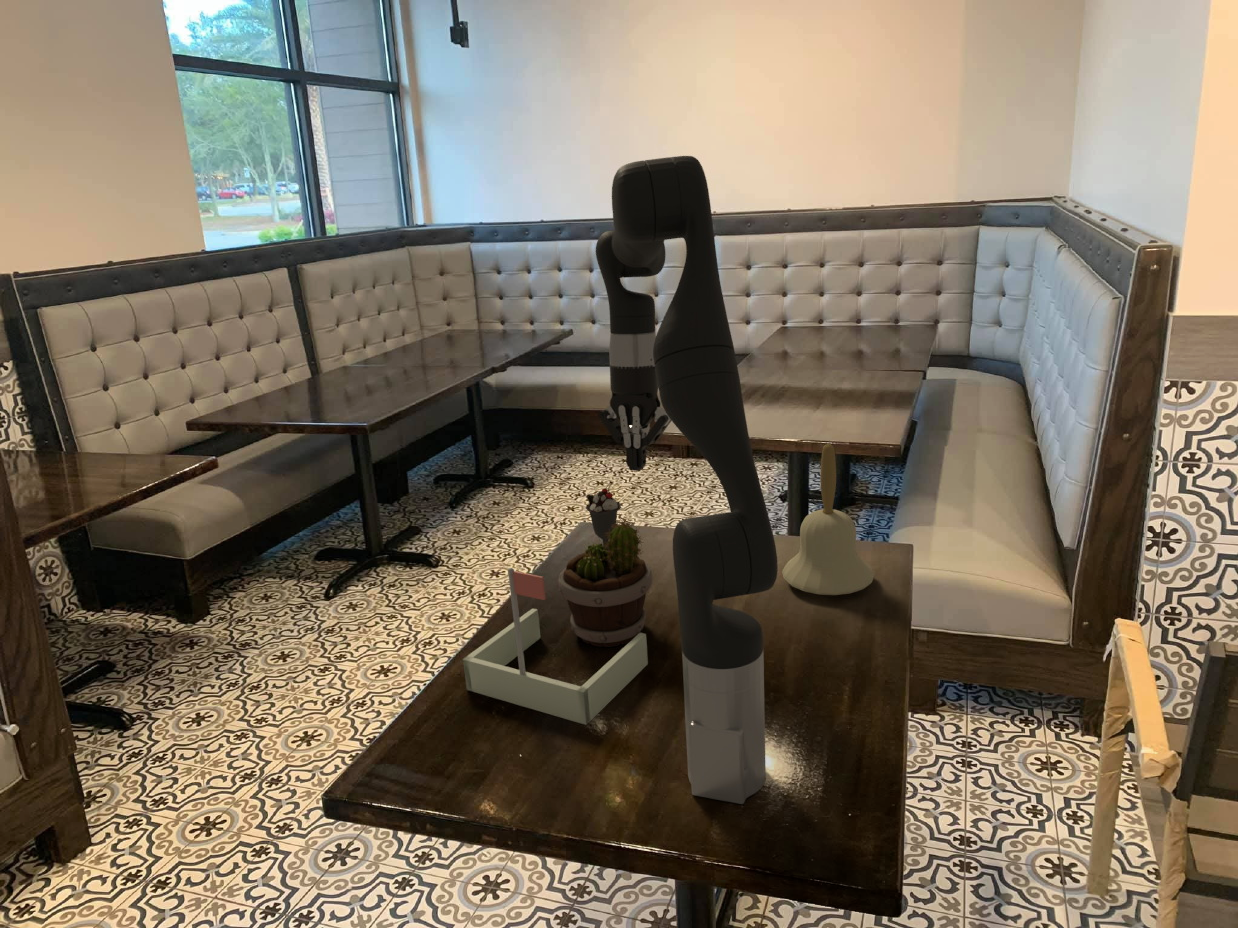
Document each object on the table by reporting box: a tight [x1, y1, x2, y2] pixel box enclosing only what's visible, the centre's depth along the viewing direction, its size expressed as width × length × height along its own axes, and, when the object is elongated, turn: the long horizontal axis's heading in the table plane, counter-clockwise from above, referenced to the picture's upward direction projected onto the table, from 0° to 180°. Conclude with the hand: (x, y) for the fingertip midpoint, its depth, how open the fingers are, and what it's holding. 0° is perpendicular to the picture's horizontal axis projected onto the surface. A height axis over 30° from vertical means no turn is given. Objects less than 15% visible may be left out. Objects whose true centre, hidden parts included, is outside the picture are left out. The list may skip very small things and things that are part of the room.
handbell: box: [781, 443, 875, 596], centre depth 151 cm, size 15×15×25 cm
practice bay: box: [462, 567, 649, 726], centre depth 128 cm, size 17×20×21 cm
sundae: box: [585, 481, 622, 551], centre depth 170 cm, size 7×7×15 cm
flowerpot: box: [558, 515, 653, 648], centre depth 140 cm, size 14×15×20 cm
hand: (636, 469), depth 144 cm, fingers closed
